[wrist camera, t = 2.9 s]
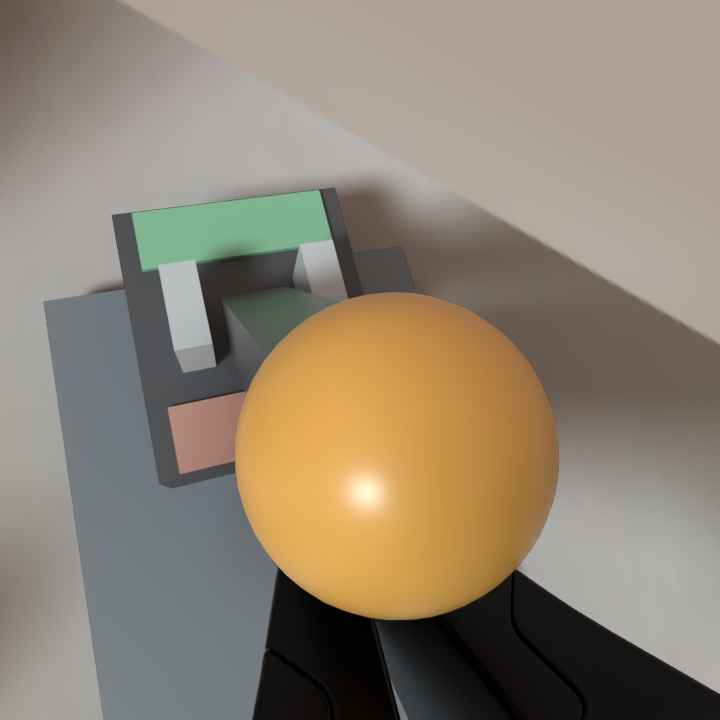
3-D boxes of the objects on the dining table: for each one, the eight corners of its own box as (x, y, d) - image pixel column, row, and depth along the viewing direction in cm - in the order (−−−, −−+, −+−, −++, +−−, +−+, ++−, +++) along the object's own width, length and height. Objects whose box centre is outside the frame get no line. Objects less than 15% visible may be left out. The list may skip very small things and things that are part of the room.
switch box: (545, 805, 17) (700, 955, 11) (158, 980, 14) (100, 1301, 8) (383, 239, 21) (437, 134, 15) (55, 289, 18) (-33, 183, 12)
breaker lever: (318, 364, 14) (646, 631, 4) (216, 385, 14) (296, 765, 3) (302, 262, 14) (631, 272, 4) (194, 279, 13) (211, 350, 3)
